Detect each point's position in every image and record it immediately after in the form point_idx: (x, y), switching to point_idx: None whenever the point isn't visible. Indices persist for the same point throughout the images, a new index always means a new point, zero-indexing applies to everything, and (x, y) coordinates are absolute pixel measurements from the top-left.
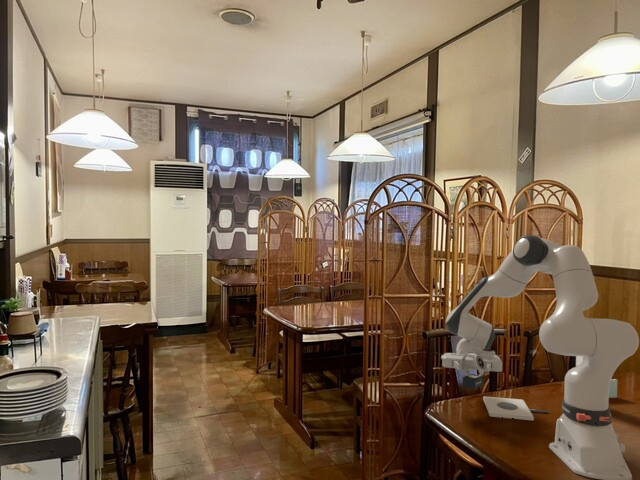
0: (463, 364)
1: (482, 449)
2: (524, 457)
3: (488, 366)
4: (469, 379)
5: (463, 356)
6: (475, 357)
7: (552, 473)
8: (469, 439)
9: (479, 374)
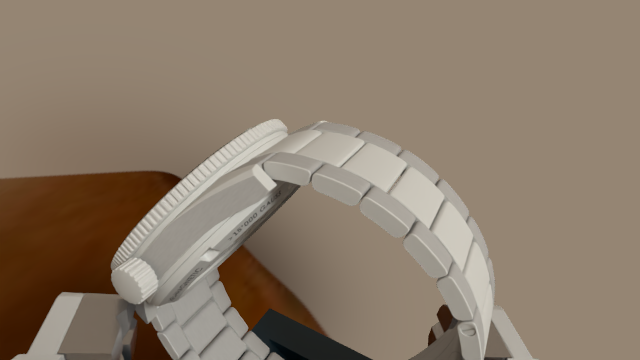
0: (439, 348)
1: (242, 244)
2: (112, 225)
3: (45, 321)
4: (316, 334)
5: (478, 230)
6: (287, 136)
7: (72, 177)
8: (281, 294)
9: (220, 283)
